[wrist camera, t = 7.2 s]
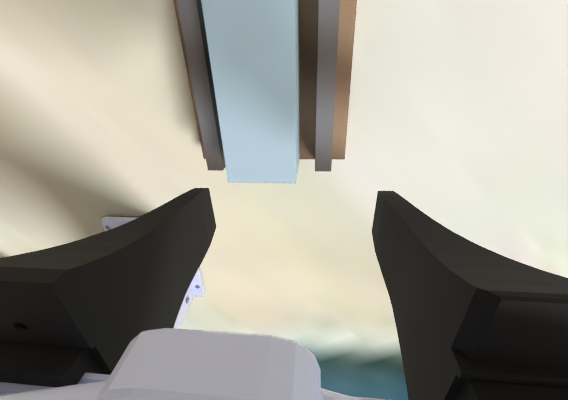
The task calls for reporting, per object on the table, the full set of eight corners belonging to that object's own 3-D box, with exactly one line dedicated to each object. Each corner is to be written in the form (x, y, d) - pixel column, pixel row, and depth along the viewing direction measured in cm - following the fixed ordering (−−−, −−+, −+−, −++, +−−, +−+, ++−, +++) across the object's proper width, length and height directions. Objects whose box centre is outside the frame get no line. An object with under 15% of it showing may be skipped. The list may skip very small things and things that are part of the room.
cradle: (343, 152, 20) (347, 171, 18) (209, 152, 21) (193, 170, 19) (359, -71, 14) (369, -95, 12) (172, -56, 15) (141, -76, 13)
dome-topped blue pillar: (299, 157, 20) (295, 183, 16) (243, 156, 20) (228, 182, 17) (298, -77, 14) (292, -114, 10) (217, -71, 14) (185, -104, 11)
